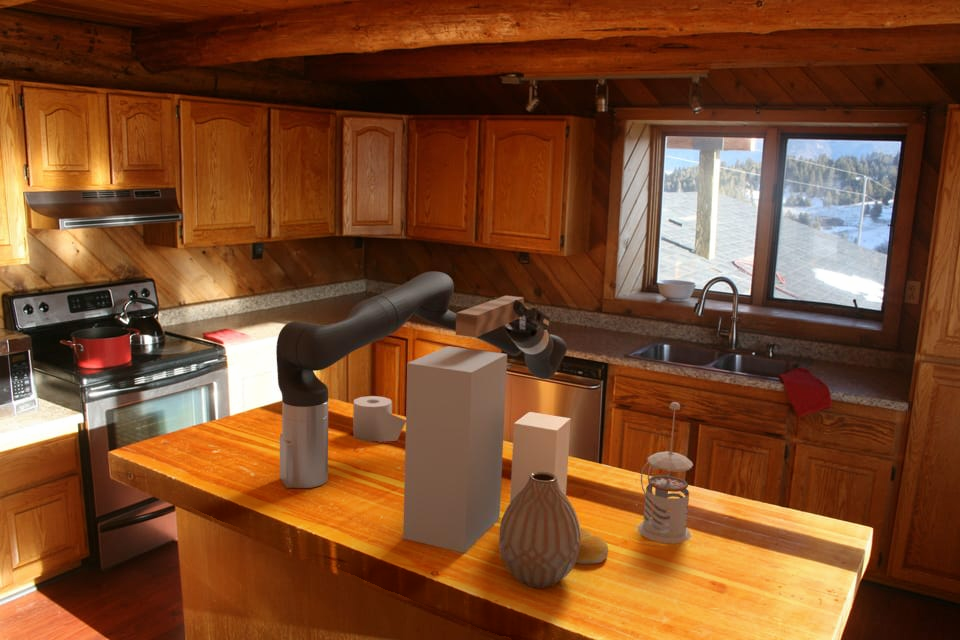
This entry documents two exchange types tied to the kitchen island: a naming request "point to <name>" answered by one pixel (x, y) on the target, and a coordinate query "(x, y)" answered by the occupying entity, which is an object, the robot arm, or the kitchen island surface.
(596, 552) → the bread roll
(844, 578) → the kitchen island surface
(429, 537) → the tall white pillar
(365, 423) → the toilet tissue
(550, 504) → the vase
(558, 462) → the post
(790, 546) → the kitchen island surface
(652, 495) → the french press
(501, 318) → the walnut bar
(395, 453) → the kitchen island surface
